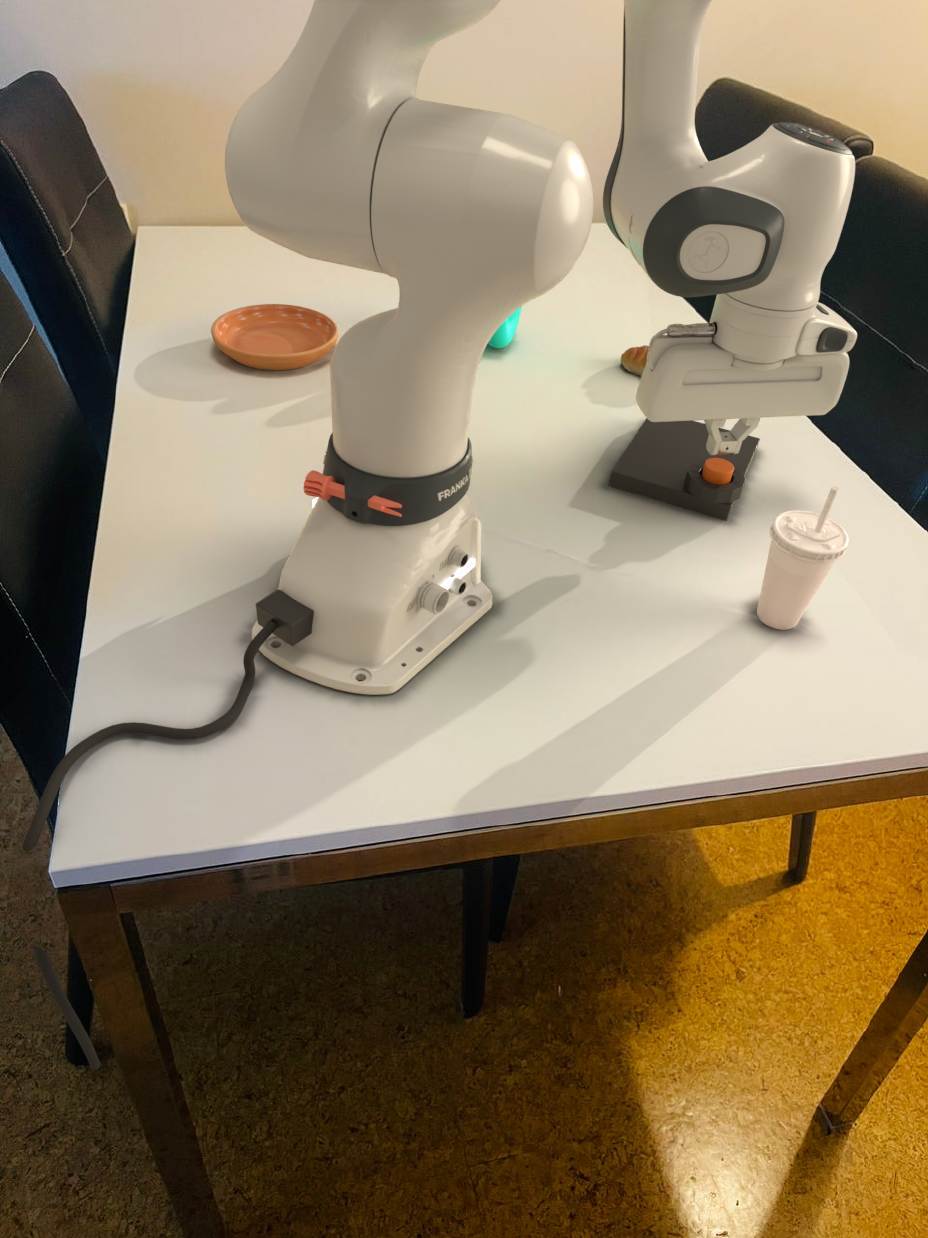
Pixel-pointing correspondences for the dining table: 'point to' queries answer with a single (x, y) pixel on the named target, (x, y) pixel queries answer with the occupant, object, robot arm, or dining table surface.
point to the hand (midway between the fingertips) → (721, 451)
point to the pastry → (635, 359)
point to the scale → (680, 467)
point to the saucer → (274, 335)
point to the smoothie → (798, 563)
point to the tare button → (717, 471)
